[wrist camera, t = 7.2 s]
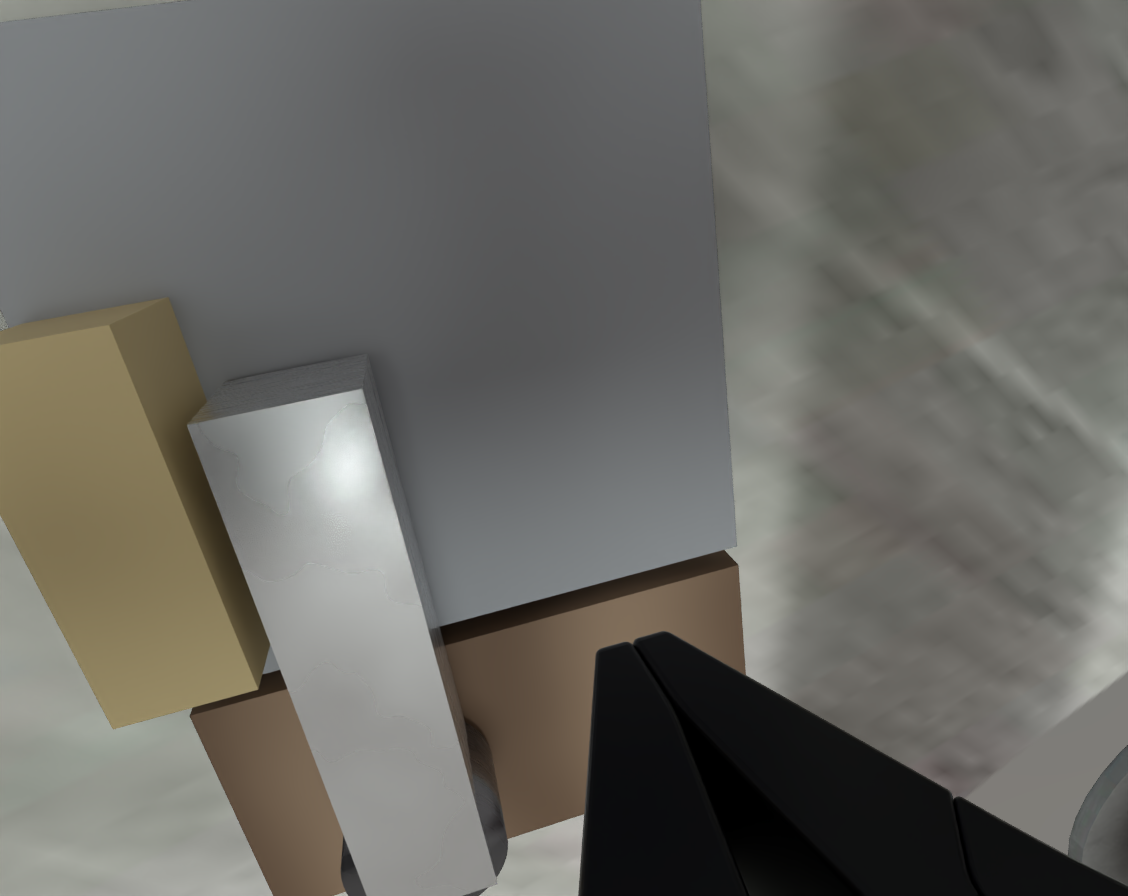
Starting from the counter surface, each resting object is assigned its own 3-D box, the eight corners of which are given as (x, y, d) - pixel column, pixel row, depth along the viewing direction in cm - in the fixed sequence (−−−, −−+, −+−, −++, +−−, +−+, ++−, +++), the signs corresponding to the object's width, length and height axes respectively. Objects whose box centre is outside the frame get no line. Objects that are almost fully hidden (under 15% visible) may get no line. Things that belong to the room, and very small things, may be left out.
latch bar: (504, 802, 16) (522, 897, 14) (368, 845, 16) (364, 950, 14) (390, 349, 12) (390, 382, 10) (200, 386, 12) (155, 431, 9)
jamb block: (301, 779, 20) (281, 912, 16) (231, 606, 17) (189, 715, 14) (690, 664, 22) (751, 759, 18) (672, 495, 19) (738, 564, 16)
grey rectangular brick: (225, 590, 17) (136, 802, 11) (18, 81, 13) (-304, -16, 7) (671, 479, 19) (799, 609, 13) (621, 3, 15) (778, -127, 9)
